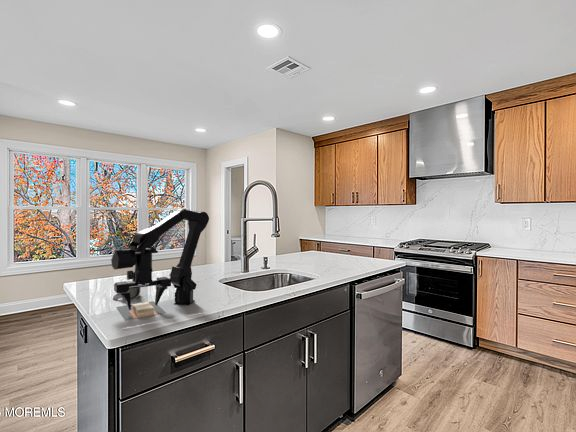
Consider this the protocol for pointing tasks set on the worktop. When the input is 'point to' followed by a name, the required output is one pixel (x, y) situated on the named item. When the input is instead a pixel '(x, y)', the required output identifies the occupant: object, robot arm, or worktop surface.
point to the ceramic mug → (133, 292)
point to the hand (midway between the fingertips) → (143, 307)
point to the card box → (143, 309)
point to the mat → (130, 314)
